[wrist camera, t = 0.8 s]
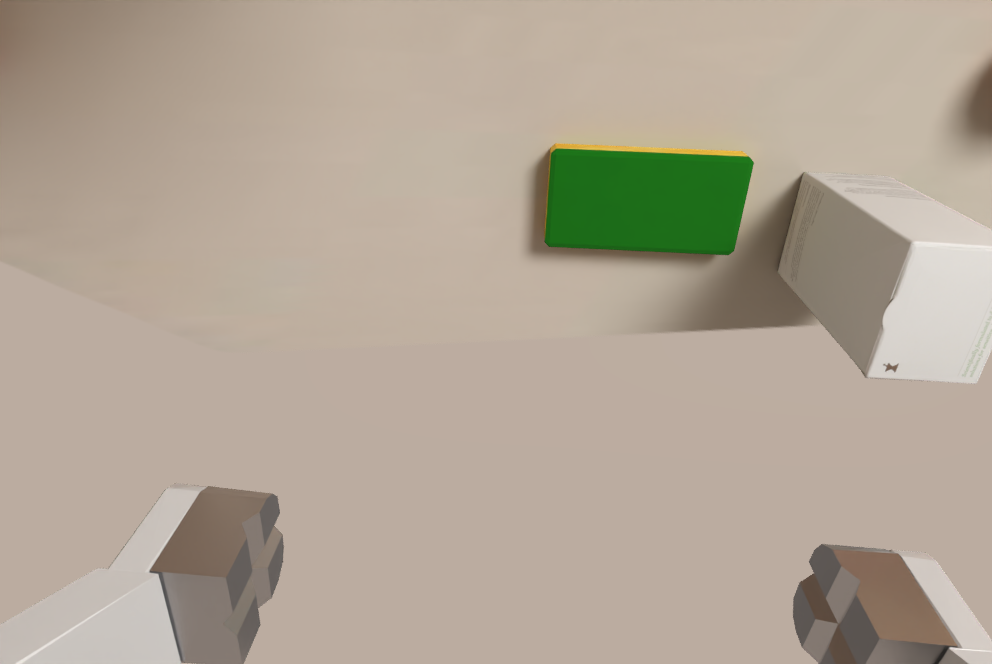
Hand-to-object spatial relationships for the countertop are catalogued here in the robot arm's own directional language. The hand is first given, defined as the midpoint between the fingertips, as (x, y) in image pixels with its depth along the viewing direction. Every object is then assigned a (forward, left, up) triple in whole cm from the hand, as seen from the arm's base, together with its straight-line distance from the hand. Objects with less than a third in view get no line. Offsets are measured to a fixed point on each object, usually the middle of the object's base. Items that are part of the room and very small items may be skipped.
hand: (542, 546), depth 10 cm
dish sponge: (+6, +8, -40) cm, 42 cm away
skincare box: (+7, +22, -40) cm, 46 cm away
